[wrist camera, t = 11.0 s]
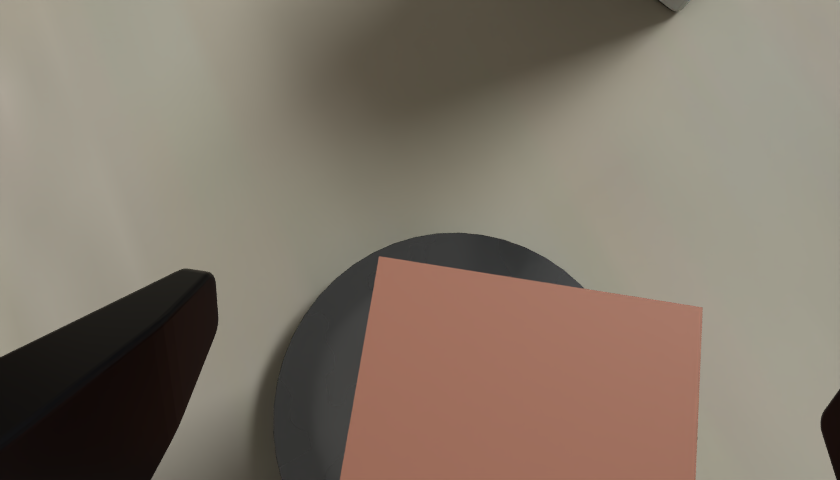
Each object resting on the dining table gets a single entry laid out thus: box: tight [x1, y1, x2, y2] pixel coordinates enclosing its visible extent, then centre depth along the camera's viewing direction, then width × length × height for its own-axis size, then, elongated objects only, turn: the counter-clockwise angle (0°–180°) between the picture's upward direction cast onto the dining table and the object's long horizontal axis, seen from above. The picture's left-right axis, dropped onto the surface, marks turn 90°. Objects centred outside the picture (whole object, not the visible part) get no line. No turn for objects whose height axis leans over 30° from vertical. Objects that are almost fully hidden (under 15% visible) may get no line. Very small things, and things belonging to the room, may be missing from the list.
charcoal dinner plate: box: [274, 233, 584, 480], centre depth 16 cm, size 10×10×1 cm
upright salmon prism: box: [340, 256, 703, 480], centre depth 12 cm, size 4×4×8 cm
